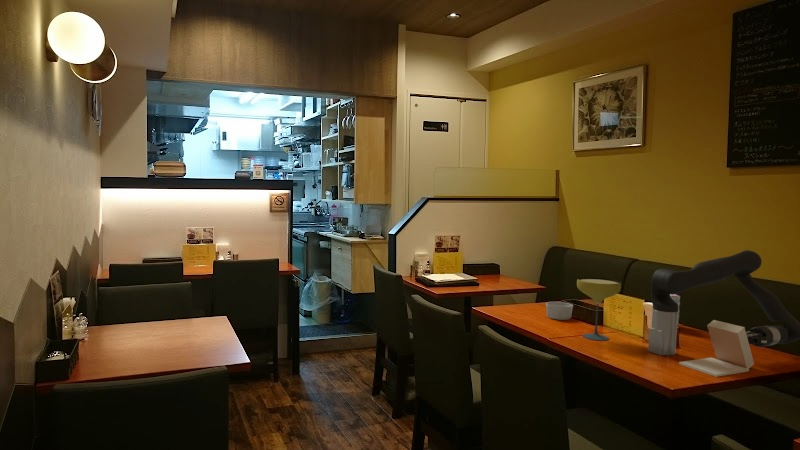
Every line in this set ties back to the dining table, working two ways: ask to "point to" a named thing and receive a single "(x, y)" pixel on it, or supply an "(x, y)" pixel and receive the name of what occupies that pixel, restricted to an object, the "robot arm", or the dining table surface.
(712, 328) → the tile
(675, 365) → the dining table surface
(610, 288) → the cocktail glass
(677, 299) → the candy box
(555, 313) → the ramekin
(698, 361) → the cutting board
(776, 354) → the dining table surface
